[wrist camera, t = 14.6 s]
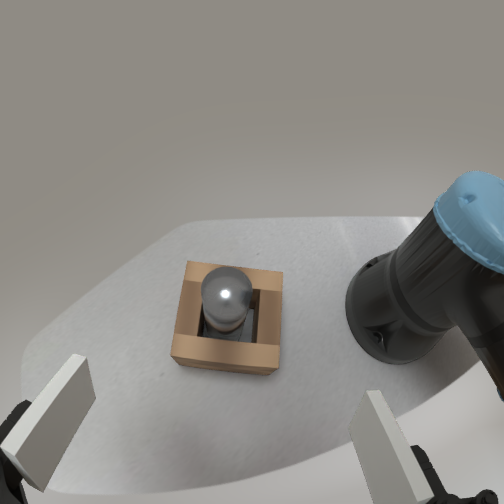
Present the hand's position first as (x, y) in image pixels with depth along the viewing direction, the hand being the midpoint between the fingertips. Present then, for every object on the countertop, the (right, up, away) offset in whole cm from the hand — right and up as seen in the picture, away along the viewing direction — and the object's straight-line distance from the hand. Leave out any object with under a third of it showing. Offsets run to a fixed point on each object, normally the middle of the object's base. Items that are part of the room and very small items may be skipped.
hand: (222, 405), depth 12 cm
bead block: (-1, -2, +21) cm, 21 cm away
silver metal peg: (-2, -2, +21) cm, 21 cm away
